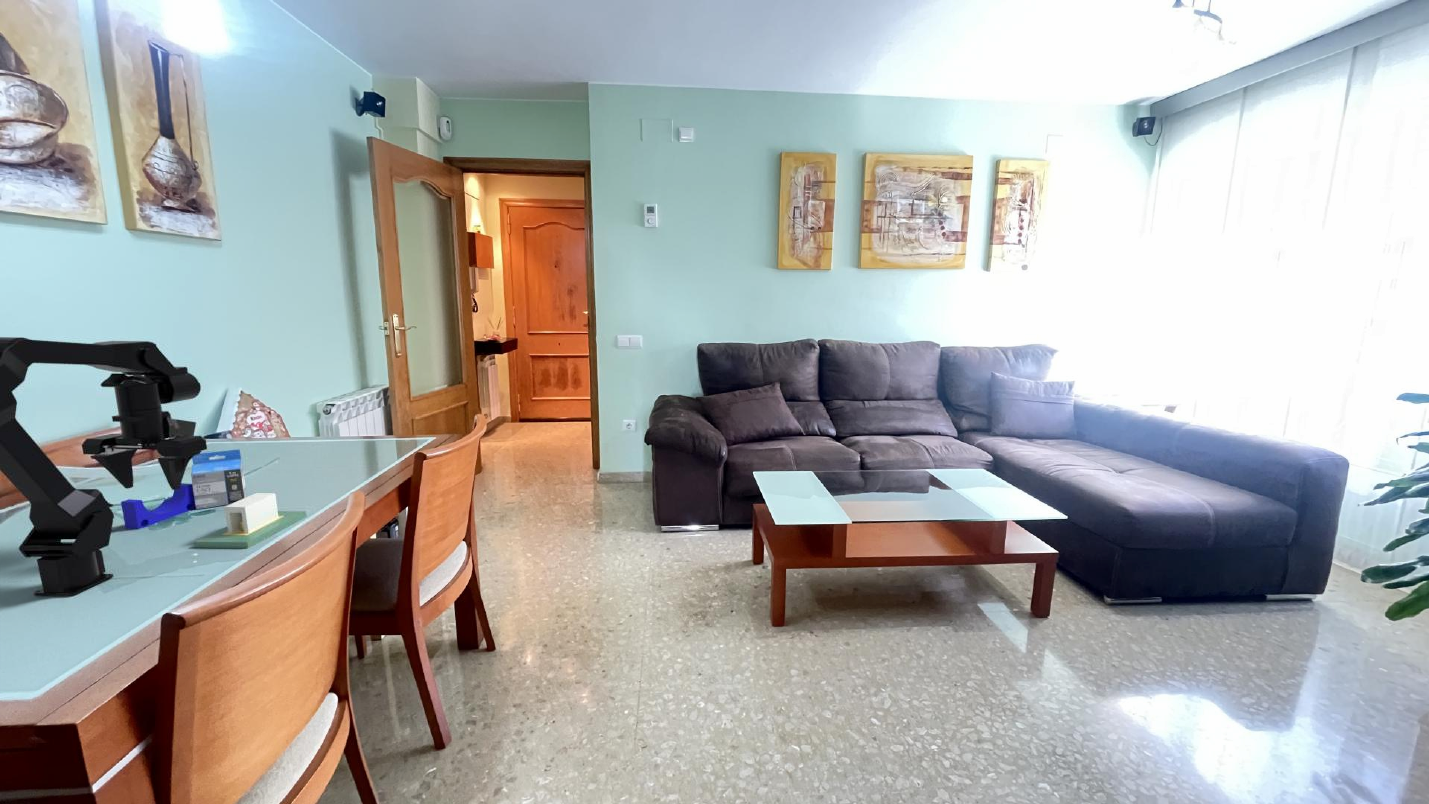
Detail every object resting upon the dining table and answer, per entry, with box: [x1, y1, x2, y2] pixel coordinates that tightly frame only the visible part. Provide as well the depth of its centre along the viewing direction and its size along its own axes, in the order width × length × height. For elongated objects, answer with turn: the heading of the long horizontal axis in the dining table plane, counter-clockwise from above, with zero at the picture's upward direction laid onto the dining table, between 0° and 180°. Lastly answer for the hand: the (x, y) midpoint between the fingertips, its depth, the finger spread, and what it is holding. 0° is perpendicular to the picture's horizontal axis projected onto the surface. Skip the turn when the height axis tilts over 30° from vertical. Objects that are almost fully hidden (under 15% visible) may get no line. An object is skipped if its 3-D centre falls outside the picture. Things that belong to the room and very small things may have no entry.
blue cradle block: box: [120, 482, 197, 530], centre depth 121 cm, size 12×4×6 cm, turn 175°
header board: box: [194, 510, 308, 549], centre depth 116 cm, size 16×10×3 cm, turn 1°
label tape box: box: [190, 448, 248, 510], centre depth 129 cm, size 9×4×12 cm, turn 124°
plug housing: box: [224, 492, 279, 533], centre depth 115 cm, size 8×4×6 cm, turn 1°
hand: (152, 488), depth 106 cm, fingers open, 9 cm apart
